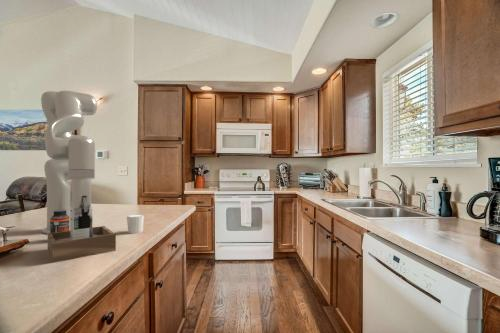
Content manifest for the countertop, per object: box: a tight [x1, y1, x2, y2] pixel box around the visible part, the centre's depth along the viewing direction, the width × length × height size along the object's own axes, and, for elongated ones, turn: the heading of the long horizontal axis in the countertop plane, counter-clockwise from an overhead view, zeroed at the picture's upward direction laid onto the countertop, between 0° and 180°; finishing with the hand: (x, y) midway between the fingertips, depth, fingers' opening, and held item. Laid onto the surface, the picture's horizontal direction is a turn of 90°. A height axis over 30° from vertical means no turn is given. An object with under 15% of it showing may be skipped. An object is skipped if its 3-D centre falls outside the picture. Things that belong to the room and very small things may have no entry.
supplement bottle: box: [50, 210, 69, 233], centre depth 100 cm, size 6×6×11 cm
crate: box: [47, 225, 117, 263], centre depth 88 cm, size 16×17×6 cm
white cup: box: [126, 213, 145, 234], centre depth 113 cm, size 7×7×7 cm
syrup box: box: [70, 206, 94, 240], centre depth 88 cm, size 6×6×14 cm
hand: (81, 225), depth 88 cm, fingers open, 9 cm apart
